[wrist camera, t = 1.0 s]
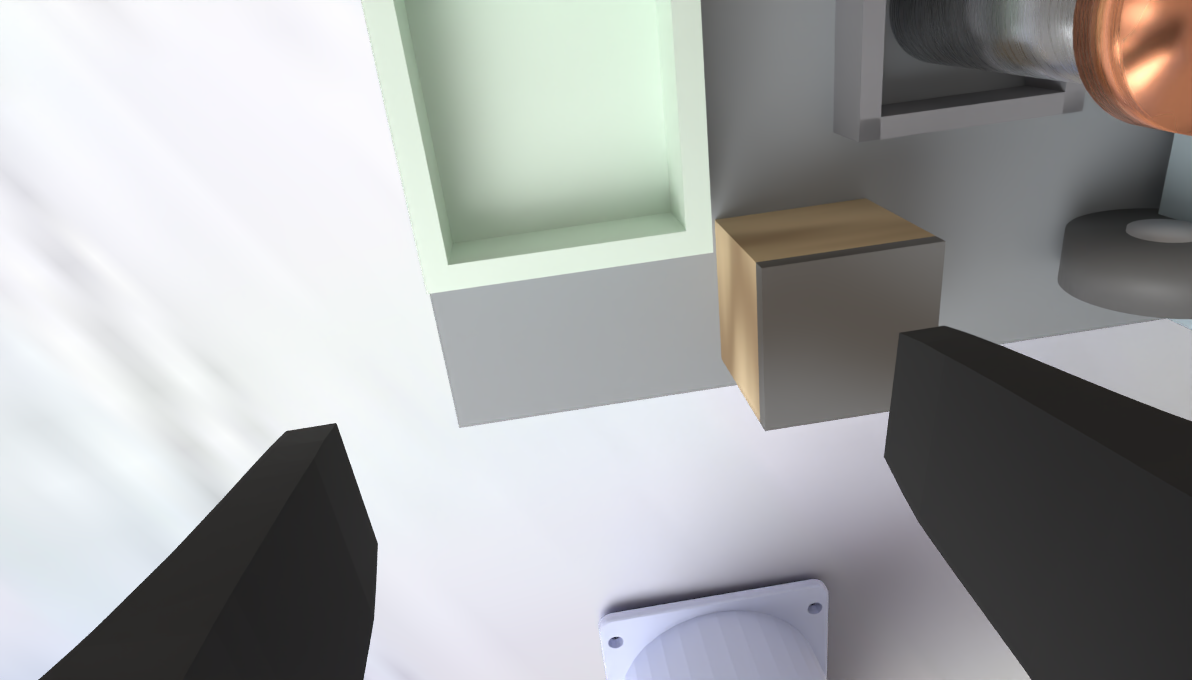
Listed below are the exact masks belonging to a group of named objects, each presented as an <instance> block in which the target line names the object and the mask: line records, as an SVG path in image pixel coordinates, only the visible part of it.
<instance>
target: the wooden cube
mask: <svg viewBox="0 0 1192 680" xmlns="http://www.w3.org/2000/svg"><path fill="white" fill-rule="evenodd" d="M715 237H716V258H717V278H718V298H719V319H720V339H721V359H722V360H723V362H724V364H725V365H726V367H727V369H728V370H729V372H730V374H731V375H732V377H733V379H734V380H735V382H736V384H737V385H738V387H739V388H740V390H741V392H742V393H743V395H744V397H745V398H746V400H747V402H748V403H749V405H750V407H751V408H752V410H753V412H754V413H755V415H756V417H757V418H758V420H759V421H760V423H761V425H762V426H763V428H764V430H765V431H768V430H774V429H781V428H787V427H793V426H800V425H806V424H812V423H819V422H825V421H831V420H838V419H844V418H850V417H857V416H863V415H869V414H875V413H882V412H888V411H890V404H891V396H892V388H893V380H894V371H895V363H896V355H897V347H898V339H899V333H901V332H907V331H913V330H920V329H926V328H932V327H938V326H939V314H940V302H941V290H942V279H943V267H944V255H945V243H946V241H944V240H942V239H940V238H939V237H937V236H935V235H933V234H931V233H929V232H927V231H926V230H924V229H922V228H920V227H918V226H916V225H914V224H913V223H911V222H909V221H907V220H905V219H903V218H901V217H900V216H898V215H896V214H894V213H892V212H890V211H888V210H887V209H885V208H883V207H881V206H879V205H877V204H875V203H874V202H872V201H870V200H868V199H866V198H864V199H857V200H850V201H843V202H836V203H829V204H822V205H815V206H808V207H801V208H794V209H787V210H780V211H773V212H766V213H759V214H752V215H745V216H738V217H731V218H724V219H717V220H715Z"/></svg>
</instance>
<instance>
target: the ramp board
mask: <svg viewBox="0 0 1192 680" xmlns="http://www.w3.org/2000/svg"><path fill="white" fill-rule="evenodd" d="M889 5H890V0H701V19H702V39H703V58H704V78H705V98H706V117H707V137H708V157H709V176H710V196H711V216H712V235H713V253H707V254H700V255H693V256H686V257H679V258H672V259H666V260H659V261H652V262H645V263H638V264H631V265H624V266H617V267H610V268H604V269H597V270H590V271H583V272H576V273H569V274H562V275H555V276H548V277H542V278H535V279H528V280H521V281H514V282H507V283H500V284H493V285H486V286H479V287H473V288H466V289H459V290H452V291H445V292H438V293H431V294H430V297H431V302H432V306H433V311H434V315H435V320H436V324H437V329H438V333H439V338H440V342H441V347H442V351H443V356H444V360H445V365H446V369H447V374H448V378H449V383H450V387H451V392H452V396H453V401H454V405H455V410H456V414H457V419H458V423H459V428H461V427H468V426H474V425H481V424H487V423H493V422H500V421H506V420H513V419H519V418H526V417H532V416H539V415H545V414H552V413H558V412H565V411H571V410H578V409H584V408H590V407H597V406H603V405H610V404H616V403H623V402H629V401H636V400H642V399H649V398H655V397H662V396H668V395H675V394H681V393H688V392H694V391H700V390H707V389H713V388H720V387H726V386H733V385H737V384H736V382H735V380H734V379H733V377H732V375H731V374H730V372H729V370H728V369H727V367H726V365H725V364H724V362H723V360H722V359H721V339H720V319H719V298H718V278H717V258H716V237H715V220H717V219H724V218H731V217H738V216H745V215H752V214H759V213H766V212H773V211H780V210H787V209H794V208H801V207H808V206H815V205H822V204H829V203H836V202H843V201H850V200H857V199H864V198H866V199H868V200H870V201H872V202H874V203H875V204H877V205H879V206H881V207H883V208H885V209H887V210H888V211H890V212H892V213H894V214H896V215H898V216H900V217H901V218H903V219H905V220H907V221H909V222H911V223H913V224H914V225H916V226H918V227H920V228H922V229H924V230H926V231H927V232H929V233H931V234H933V235H935V236H937V237H939V238H940V239H942V240H944V241H946V243H945V255H944V267H943V279H942V290H941V302H940V314H939V326H948V327H951V328H954V329H957V330H961V331H964V332H966V333H969V334H972V335H975V336H977V337H980V338H983V339H985V340H988V341H991V342H993V343H996V344H1004V343H1011V342H1017V341H1024V340H1030V339H1037V338H1043V337H1050V336H1056V335H1063V334H1069V333H1076V332H1082V331H1089V330H1095V329H1101V328H1108V327H1114V326H1121V325H1127V324H1134V323H1140V322H1147V321H1153V320H1160V319H1166V318H1155V317H1146V316H1139V315H1133V314H1127V313H1122V312H1117V311H1113V310H1109V309H1105V308H1101V307H1098V306H1095V305H1092V304H1089V303H1086V302H1084V301H1081V300H1079V299H1077V298H1075V297H1073V296H1071V295H1070V294H1068V293H1067V292H1065V291H1064V290H1063V289H1062V288H1061V287H1060V286H1059V284H1058V272H1059V265H1060V259H1061V252H1062V246H1063V239H1064V232H1065V227H1066V225H1067V224H1068V223H1069V222H1070V221H1071V220H1073V219H1075V218H1077V217H1080V216H1083V215H1086V214H1091V213H1095V212H1101V211H1108V210H1118V209H1134V208H1160V203H1161V198H1162V193H1163V188H1164V183H1165V178H1166V173H1167V168H1168V164H1169V159H1170V154H1171V149H1172V144H1173V139H1174V134H1175V133H1173V132H1168V131H1162V130H1157V129H1152V128H1147V127H1141V126H1137V125H1133V124H1129V123H1126V122H1123V121H1121V120H1119V119H1116V118H1114V117H1113V116H1111V115H1110V114H1108V113H1107V112H1105V111H1104V110H1103V109H1102V108H1101V107H1100V106H1099V105H1098V104H1097V103H1096V102H1095V101H1094V100H1093V99H1092V97H1091V96H1090V95H1089V93H1088V92H1087V90H1086V88H1085V86H1084V84H1077V83H1070V82H1063V81H1056V80H1048V79H1041V78H1034V77H1027V76H1019V75H1012V74H1005V73H997V72H990V71H983V70H976V69H968V68H961V67H954V66H946V65H939V64H932V63H926V62H922V61H919V60H917V59H915V58H913V57H911V56H910V55H908V54H907V53H906V52H905V51H904V50H903V49H902V48H901V47H900V45H899V44H898V42H897V41H896V39H895V37H894V34H893V32H892V28H891V24H890V17H889Z"/></svg>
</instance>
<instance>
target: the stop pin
mask: <svg viewBox="0 0 1192 680" xmlns="http://www.w3.org/2000/svg"><path fill="white" fill-rule="evenodd" d="M889 17H890V24H891V28H892V32H893V34H894V37H895V39H896V41H897V42H898V44H899V45H900V47H901V48H902V49H903V50H904V51H905V52H906V53H907V54H908V55H910V56H911V57H913V58H915V59H917V60H919V61H922V62H926V63H932V64H939V65H946V66H954V67H961V68H968V69H976V70H983V71H990V72H997V73H1005V74H1012V75H1019V76H1027V77H1034V78H1041V79H1048V80H1056V81H1063V82H1070V83H1077V84H1084V86H1085V88H1086V90H1087V92H1088V93H1089V95H1090V96H1091V97H1092V99H1093V100H1094V101H1095V102H1096V103H1097V104H1098V105H1099V106H1100V107H1101V108H1102V109H1103V110H1104V111H1105V112H1107V113H1108V114H1110V115H1111V116H1113V117H1114V118H1116V119H1119V120H1121V121H1123V122H1126V123H1129V124H1133V125H1137V126H1141V127H1147V128H1152V129H1157V130H1162V131H1168V132H1173V133H1178V134H1183V135H1188V136H1192V0H890V5H889Z"/></svg>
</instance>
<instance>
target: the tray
mask: <svg viewBox="0 0 1192 680" xmlns="http://www.w3.org/2000/svg"><path fill="white" fill-rule="evenodd" d="M361 3H362V7H363V12H364V16H365V21H366V25H367V30H368V34H369V39H370V43H371V47H372V52H373V56H374V61H375V65H376V70H377V74H378V79H379V83H380V88H381V92H382V97H383V101H384V105H385V110H386V114H387V119H388V123H389V128H390V132H391V137H392V141H393V146H394V150H395V155H396V159H397V163H398V168H399V172H400V177H401V181H402V186H403V190H404V195H405V199H406V204H407V208H408V213H409V217H410V221H411V226H412V230H413V235H414V239H415V244H416V248H417V253H418V257H419V262H420V266H421V271H422V275H423V279H424V284H425V288H426V293H427V294H431V293H438V292H445V291H452V290H459V289H466V288H473V287H479V286H486V285H493V284H500V283H507V282H514V281H521V280H528V279H535V278H542V277H548V276H555V275H562V274H569V273H576V272H583V271H590V270H597V269H604V268H610V267H617V266H624V265H631V264H638V263H645V262H652V261H659V260H666V259H672V258H679V257H686V256H693V255H700V254H707V253H713V235H712V216H711V196H710V176H709V157H708V137H707V117H706V98H705V78H704V58H703V39H702V19H701V0H361Z"/></svg>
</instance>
